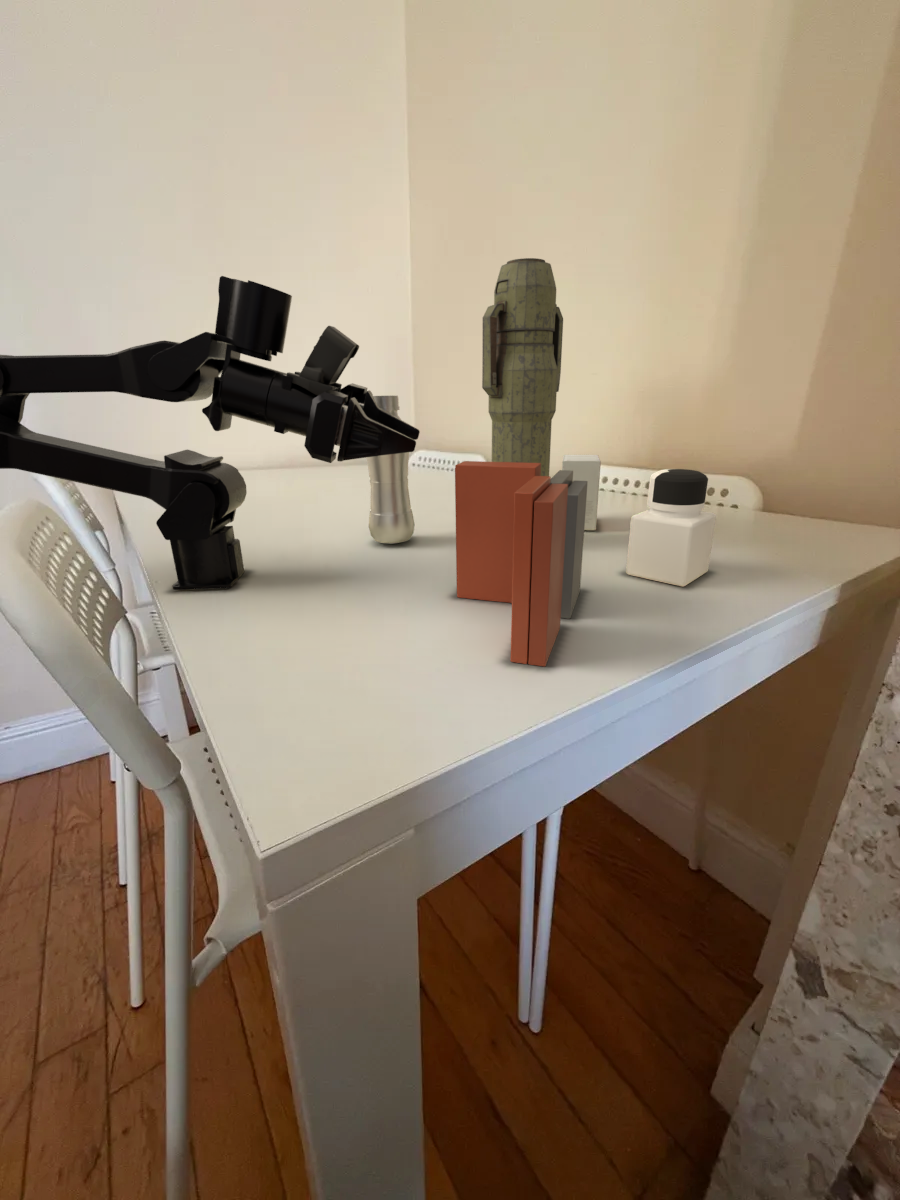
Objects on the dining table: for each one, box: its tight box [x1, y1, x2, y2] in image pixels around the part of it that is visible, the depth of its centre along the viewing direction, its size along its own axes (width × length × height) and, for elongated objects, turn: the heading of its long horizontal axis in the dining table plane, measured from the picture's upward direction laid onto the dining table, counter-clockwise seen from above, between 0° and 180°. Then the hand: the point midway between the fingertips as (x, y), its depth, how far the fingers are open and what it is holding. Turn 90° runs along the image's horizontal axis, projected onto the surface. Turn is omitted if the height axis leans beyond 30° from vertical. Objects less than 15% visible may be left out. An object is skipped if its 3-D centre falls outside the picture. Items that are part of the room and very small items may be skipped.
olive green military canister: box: [481, 257, 564, 476], centre depth 75 cm, size 9×12×35 cm
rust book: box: [454, 460, 541, 604], centre depth 59 cm, size 8×3×14 cm, turn 71°
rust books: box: [510, 475, 568, 667], centre depth 47 cm, size 3×8×14 cm, turn 161°
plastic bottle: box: [365, 395, 415, 545], centre depth 79 cm, size 6×7×20 cm
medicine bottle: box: [625, 468, 717, 587], centre depth 65 cm, size 7×7×12 cm
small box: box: [561, 454, 602, 531], centre depth 88 cm, size 8×6×10 cm
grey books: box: [550, 469, 588, 620], centre depth 57 cm, size 3×8×13 cm, turn 161°
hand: (417, 440), depth 62 cm, fingers open, 9 cm apart
